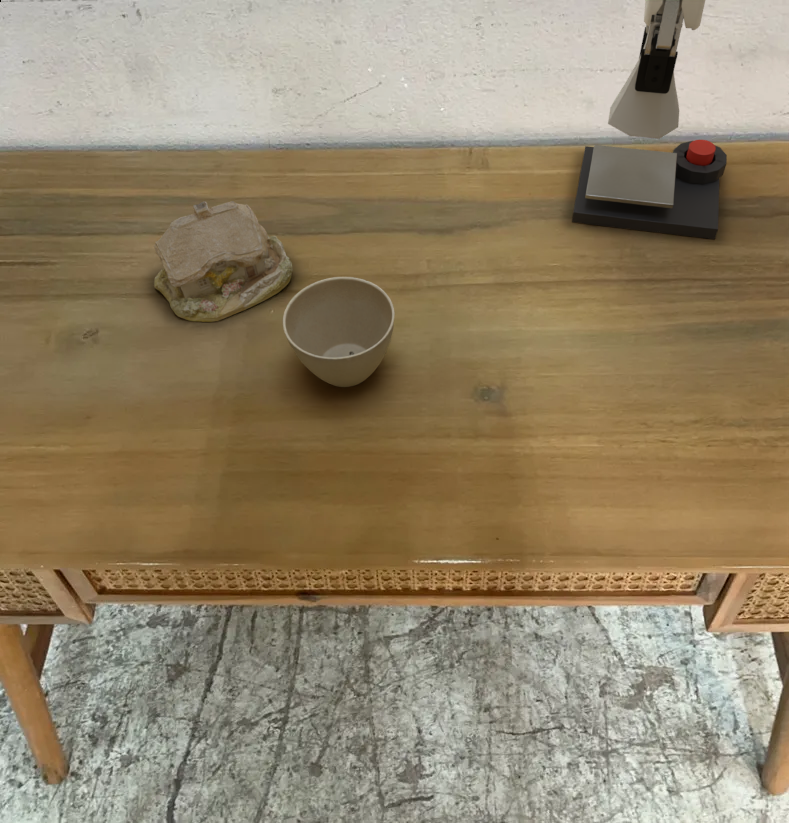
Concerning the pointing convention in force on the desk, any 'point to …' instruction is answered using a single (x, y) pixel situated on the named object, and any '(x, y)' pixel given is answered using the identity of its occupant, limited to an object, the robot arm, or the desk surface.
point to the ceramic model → (219, 263)
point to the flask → (645, 108)
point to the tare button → (700, 152)
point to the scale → (686, 218)
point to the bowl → (340, 328)
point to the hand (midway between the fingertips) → (652, 77)
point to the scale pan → (632, 176)
